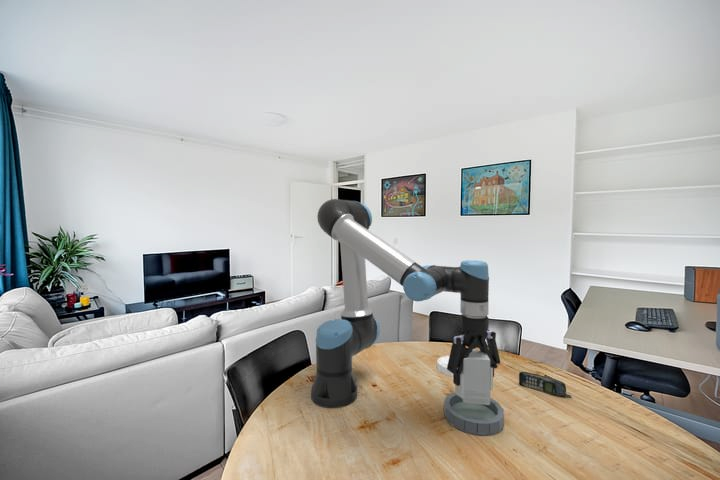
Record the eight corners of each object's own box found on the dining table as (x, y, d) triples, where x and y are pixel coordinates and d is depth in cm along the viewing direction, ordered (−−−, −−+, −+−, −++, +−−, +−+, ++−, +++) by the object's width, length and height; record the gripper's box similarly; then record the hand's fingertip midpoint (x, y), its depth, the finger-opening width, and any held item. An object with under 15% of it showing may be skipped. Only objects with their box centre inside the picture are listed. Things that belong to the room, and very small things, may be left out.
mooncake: (434, 362, 125) (434, 354, 125) (463, 363, 125) (464, 354, 125) (440, 377, 113) (440, 367, 113) (473, 377, 113) (473, 368, 113)
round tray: (433, 407, 93) (433, 397, 93) (475, 397, 99) (475, 387, 99) (470, 441, 79) (470, 429, 78) (516, 427, 84) (517, 415, 84)
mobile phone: (518, 372, 107) (570, 385, 97) (520, 369, 109) (571, 381, 100) (518, 386, 107) (570, 400, 97) (520, 383, 109) (571, 396, 100)
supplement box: (490, 405, 84) (490, 360, 84) (462, 403, 86) (462, 358, 85) (485, 391, 91) (485, 349, 91) (459, 389, 93) (459, 348, 92)
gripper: (450, 323, 80) (450, 407, 81) (514, 314, 88) (514, 390, 89) (433, 315, 87) (433, 393, 88) (494, 307, 95) (494, 378, 96)
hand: (474, 391), depth 88 cm, fingers closed on supplement box, 10 cm apart
